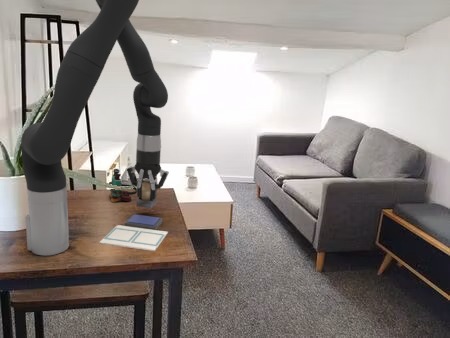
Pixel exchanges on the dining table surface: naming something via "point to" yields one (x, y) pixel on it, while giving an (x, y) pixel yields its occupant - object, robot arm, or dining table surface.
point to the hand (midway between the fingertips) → (146, 198)
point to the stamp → (146, 196)
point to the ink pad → (144, 222)
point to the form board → (134, 238)
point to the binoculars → (116, 193)
